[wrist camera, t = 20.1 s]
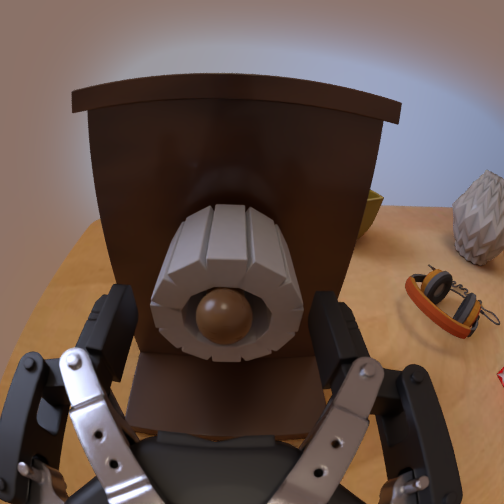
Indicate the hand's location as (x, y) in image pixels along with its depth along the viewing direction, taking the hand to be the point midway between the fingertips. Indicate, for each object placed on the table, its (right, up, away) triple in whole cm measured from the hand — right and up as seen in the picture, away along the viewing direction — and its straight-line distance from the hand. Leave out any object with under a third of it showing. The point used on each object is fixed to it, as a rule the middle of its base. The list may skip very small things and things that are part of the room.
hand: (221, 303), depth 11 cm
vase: (+48, +1, +33) cm, 58 cm away
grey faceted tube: (0, +1, +2) cm, 2 cm away
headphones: (+29, -6, +19) cm, 35 cm away
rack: (-1, -10, +10) cm, 14 cm away
